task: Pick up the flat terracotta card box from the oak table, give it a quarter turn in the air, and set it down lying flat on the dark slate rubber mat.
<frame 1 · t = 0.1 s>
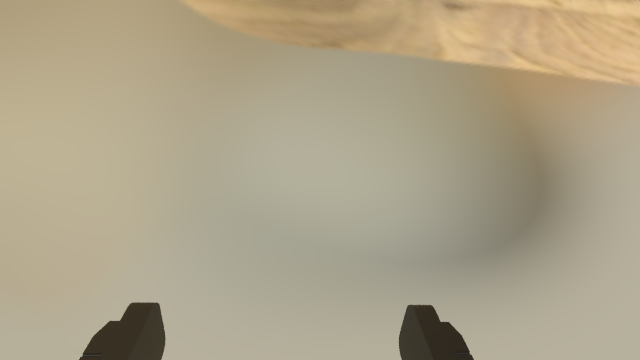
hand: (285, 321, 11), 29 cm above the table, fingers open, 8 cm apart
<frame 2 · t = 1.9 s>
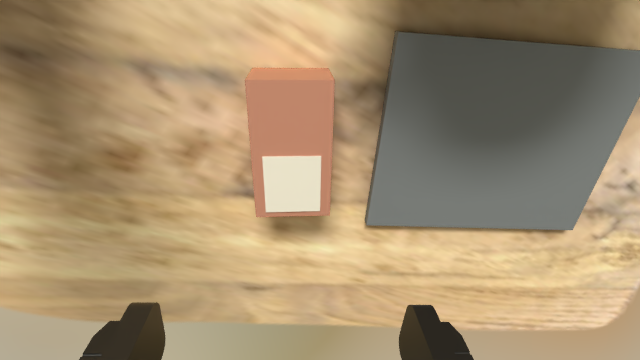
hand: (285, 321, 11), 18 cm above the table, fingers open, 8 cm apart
slate mat: (494, 143, 29), on the table
card box: (292, 132, 27), on the table
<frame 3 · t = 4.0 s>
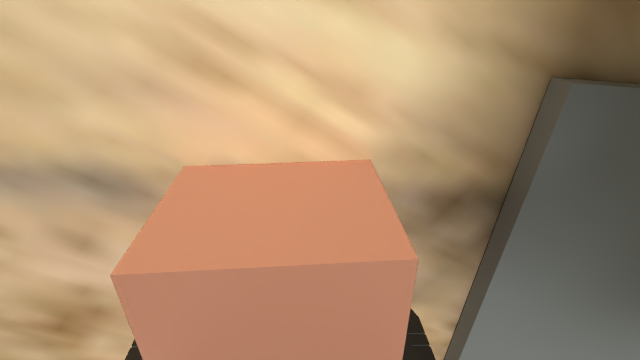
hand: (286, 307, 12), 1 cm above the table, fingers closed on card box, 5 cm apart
card box: (287, 287, 12), on the table, touching gripper
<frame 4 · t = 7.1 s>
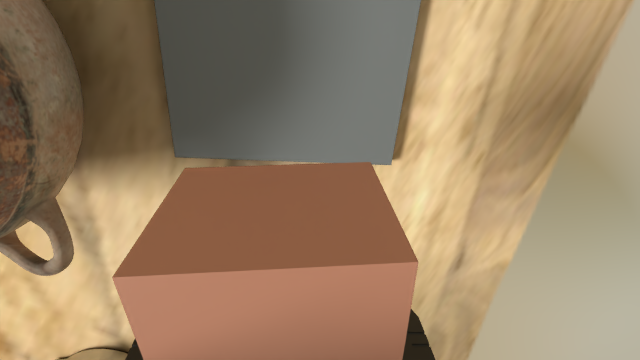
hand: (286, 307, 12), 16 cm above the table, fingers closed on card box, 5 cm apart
slate mat: (290, 11, 22), on the table
card box: (287, 289, 12), point 15 cm above the table, touching gripper
when the fingers open (3 cm above the table, at t = 10.6 s): card box drops 1 cm, resting on slate mat.
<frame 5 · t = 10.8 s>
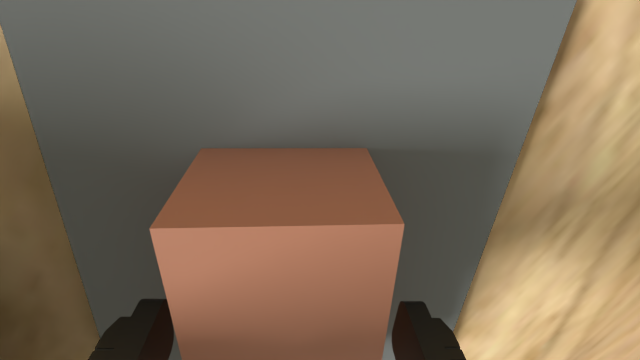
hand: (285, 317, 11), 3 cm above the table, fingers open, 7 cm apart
slate mat: (287, 250, 14), on the table
card box: (288, 264, 14), point 1 cm above the table, touching slate mat
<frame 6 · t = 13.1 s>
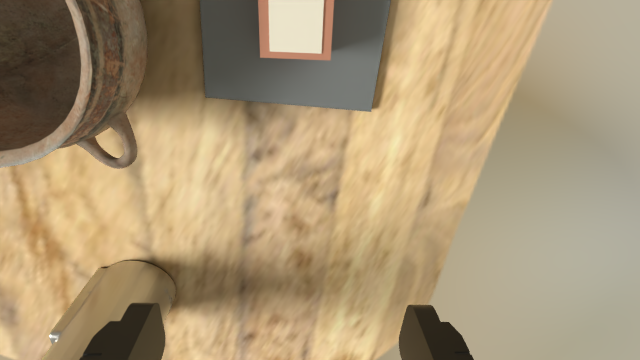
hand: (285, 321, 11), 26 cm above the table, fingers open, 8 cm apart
cooking pot: (61, 12, 29), on the table
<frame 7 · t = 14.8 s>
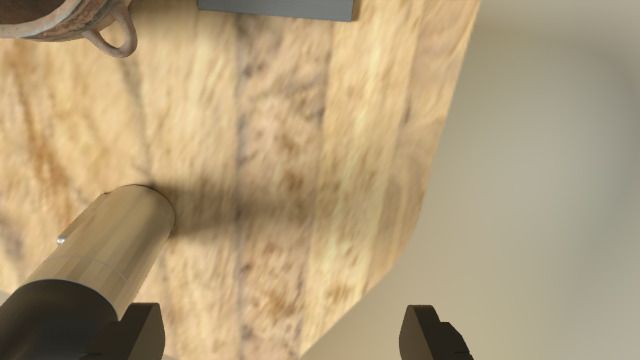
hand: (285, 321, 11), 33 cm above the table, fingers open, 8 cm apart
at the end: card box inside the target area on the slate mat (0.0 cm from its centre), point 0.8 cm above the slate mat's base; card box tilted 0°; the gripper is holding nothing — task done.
